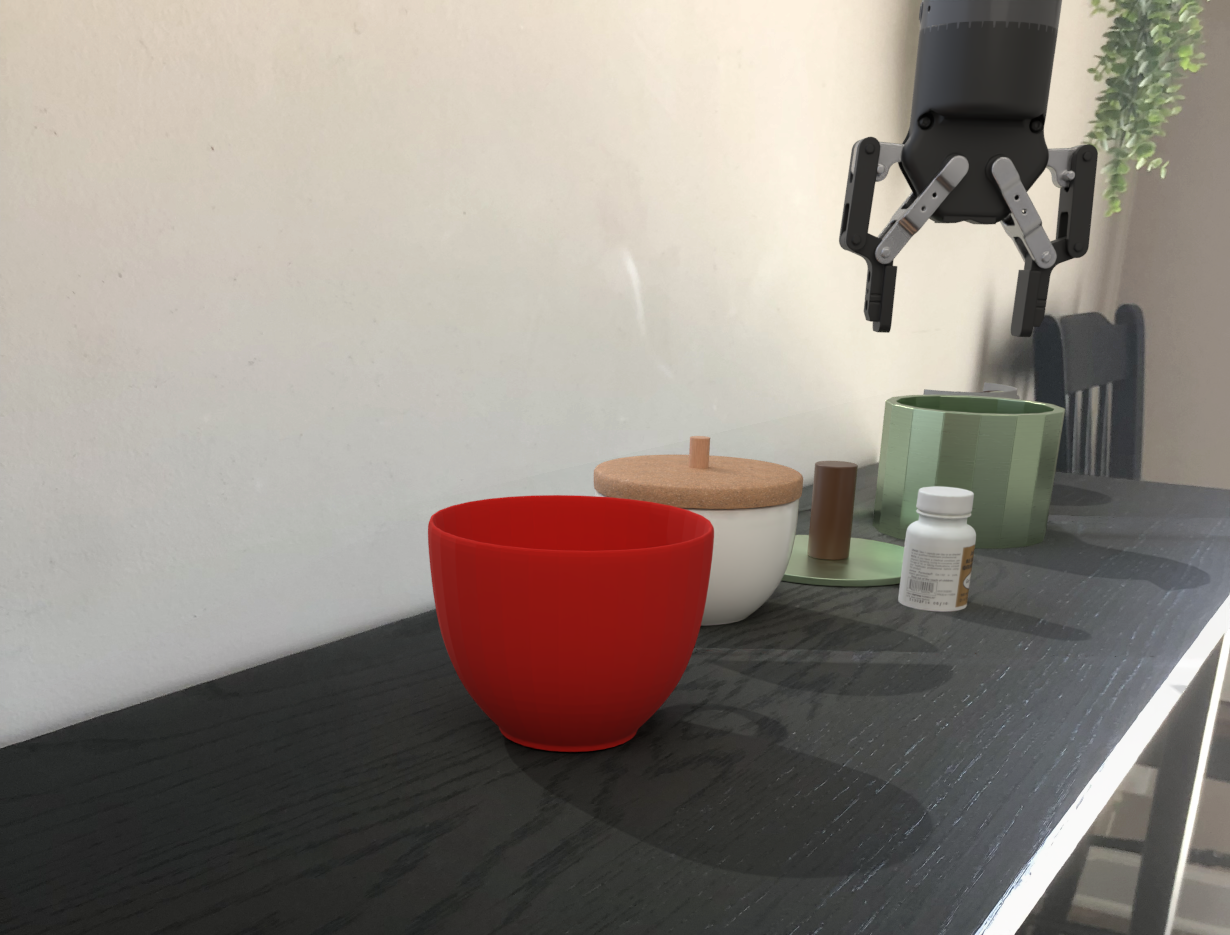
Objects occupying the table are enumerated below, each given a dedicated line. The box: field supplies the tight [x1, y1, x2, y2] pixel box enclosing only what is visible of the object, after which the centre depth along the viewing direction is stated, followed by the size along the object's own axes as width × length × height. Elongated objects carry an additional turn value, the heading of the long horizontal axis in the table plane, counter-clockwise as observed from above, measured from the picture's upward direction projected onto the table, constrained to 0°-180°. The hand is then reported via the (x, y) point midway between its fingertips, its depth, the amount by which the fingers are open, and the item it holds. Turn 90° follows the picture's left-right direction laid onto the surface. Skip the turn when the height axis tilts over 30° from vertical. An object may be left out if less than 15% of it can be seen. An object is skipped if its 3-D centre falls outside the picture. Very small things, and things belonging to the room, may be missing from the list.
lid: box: [781, 460, 904, 588], centre depth 95 cm, size 15×15×8 cm
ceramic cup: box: [427, 494, 714, 753], centre depth 64 cm, size 13×17×10 cm
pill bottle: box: [897, 486, 976, 612], centre depth 85 cm, size 4×4×8 cm
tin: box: [872, 394, 1066, 550], centre depth 107 cm, size 14×14×10 cm
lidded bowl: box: [593, 435, 804, 626], centre depth 81 cm, size 13×13×11 cm
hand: (951, 334), depth 81 cm, fingers open, 8 cm apart
